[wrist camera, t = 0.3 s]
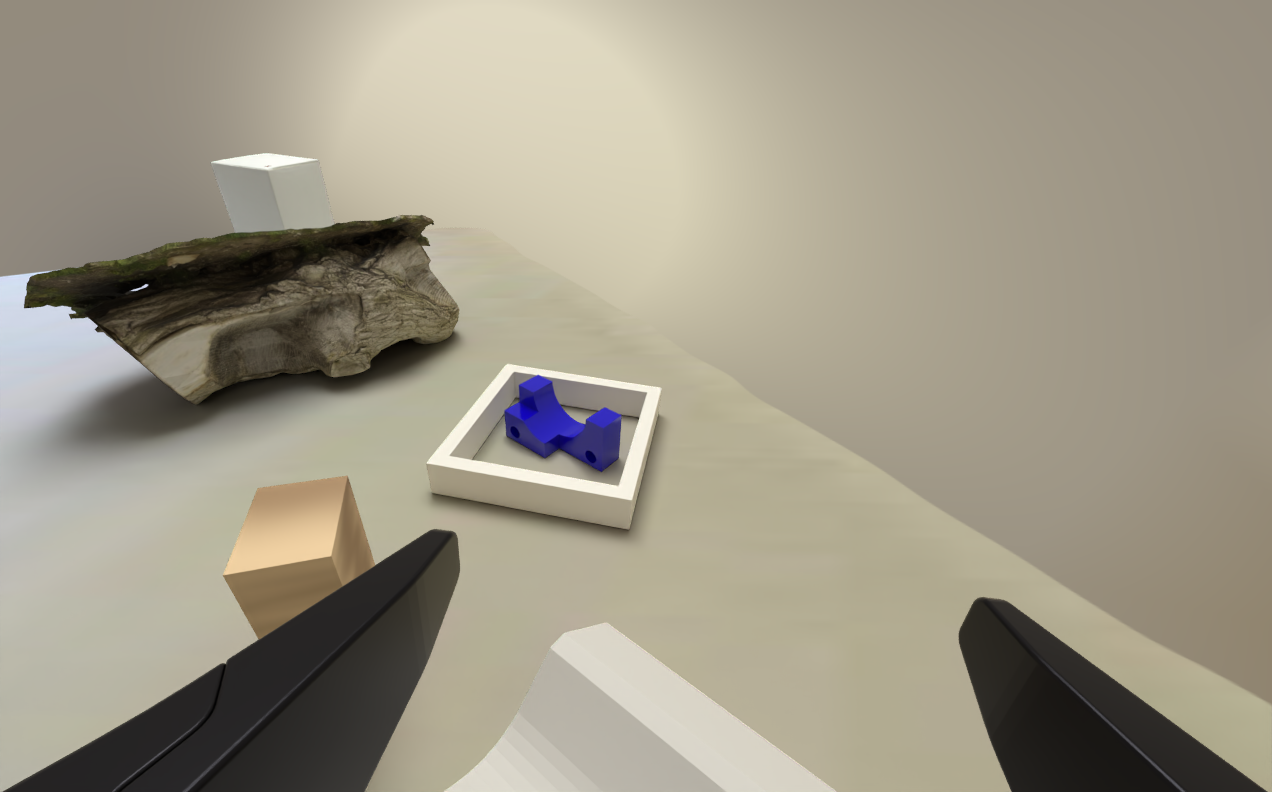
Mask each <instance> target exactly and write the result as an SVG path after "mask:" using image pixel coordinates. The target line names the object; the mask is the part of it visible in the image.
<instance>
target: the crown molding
mask: <svg viewBox="0 0 1272 792" xmlns="http://www.w3.org/2000/svg"><path fill="white" fill-rule="evenodd" d="M443 792H837V791H835V790H834V789H833V788H831V787H830V786H828V785H827V784H826V783H824V782H823V781H822V780H820V779H819V778H818V777H816V776H815V775H813V774H812V773H811V772H809V771H808V770H807V769H805V768H804V767H803V766H801V765H800V764H798V763H797V762H796V761H794V760H793V759H792V758H790V757H789V756H788V755H786V754H785V753H784V752H782V751H781V750H779V749H778V748H777V747H775V746H774V745H773V744H771V743H770V742H769V741H767V740H766V739H764V738H763V737H762V736H760V735H759V734H758V733H756V732H755V731H754V730H752V729H751V728H750V727H748V726H747V725H745V724H744V723H743V722H741V721H740V720H739V719H737V718H736V717H735V716H733V715H732V714H730V713H729V712H728V711H726V710H725V709H724V708H722V707H721V706H720V705H718V704H717V703H715V702H714V701H713V700H711V699H710V698H709V697H707V696H706V695H705V694H703V693H702V692H701V691H699V690H698V689H696V688H695V687H694V686H692V685H691V684H690V683H688V682H687V681H686V680H684V679H683V678H681V677H680V676H679V675H677V674H676V673H675V672H673V671H672V670H671V669H669V668H668V667H666V666H665V665H664V664H662V663H661V662H660V661H658V660H657V659H656V658H654V657H653V656H652V655H650V654H649V653H647V652H646V651H645V650H643V649H642V648H641V647H639V646H638V645H637V644H635V643H634V642H632V641H631V640H630V639H628V638H627V637H626V636H624V635H623V634H622V633H620V632H619V631H618V630H616V629H615V628H613V627H612V626H611V625H609V624H608V623H607V622H606V623H602V624H598V625H594V626H590V627H586V628H581V629H577V630H573V631H569V632H565V633H563V635H562V636H561V637H560V638H559V639H558V640H557V641H556V642H555V643H554V644H553V645H552V646H551V648H550V649H549V651H548V653H547V655H546V657H545V659H544V661H543V663H542V665H541V667H540V669H539V671H538V673H537V675H536V677H535V679H534V681H533V683H532V685H531V687H530V689H529V691H528V693H527V694H526V696H525V698H524V700H523V702H522V704H521V706H520V708H519V710H518V712H517V714H516V716H515V717H514V719H513V721H512V722H511V724H510V725H509V727H508V728H507V730H506V731H505V733H504V734H503V736H502V737H501V738H500V740H499V741H498V742H497V744H496V745H495V746H494V747H493V749H492V750H491V751H490V752H489V753H488V754H487V755H486V756H485V758H484V759H483V760H482V761H481V762H480V763H479V764H478V765H477V766H475V767H474V768H473V769H472V770H471V771H470V772H469V773H468V774H466V775H465V776H464V777H463V778H462V779H460V780H459V781H458V782H456V783H455V784H454V785H452V786H451V787H449V788H448V789H446V790H445V791H443Z"/></svg>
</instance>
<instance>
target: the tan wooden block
mask: <svg viewBox="0 0 1272 792" xmlns="http://www.w3.org/2000/svg"><path fill="white" fill-rule="evenodd" d="M373 566H375V563H374V560H373V557H372V553H371V550H370V547H369V544H368V540H367V537H366V534H365V531H364V527H363V524H362V521H361V518H360V514H359V511H358V508H357V505H356V501H355V498H354V495H353V492H352V488H351V485H350V482H349V479H348V476H342V477H335V478H328V479H321V480H313V481H306V482H299V483H292V484H285V485H277V486H270V487H263V488H258V489H257V491H256V494H255V496H254V499H253V501H252V504H251V506H250V509H249V511H248V514H247V516H246V519H245V521H244V524H243V526H242V529H241V531H240V534H239V536H238V539H237V541H236V544H235V546H234V549H233V551H232V554H231V556H230V559H229V561H228V564H227V566H226V569H225V571H224V574H223V576H224V578H225V580H226V582H227V584H228V585H229V587H230V589H231V591H232V593H233V594H234V596H235V598H236V600H237V601H238V603H239V605H240V607H241V609H242V610H243V612H244V614H245V616H246V617H247V619H248V621H249V623H250V625H251V626H252V628H253V630H254V632H255V633H256V635H257V637H258V639H261V638H262V637H264V636H265V635H267V634H268V633H270V632H272V631H273V630H275V629H276V628H278V627H279V626H281V625H283V624H284V623H286V622H287V621H289V620H290V619H292V618H294V617H295V616H297V615H298V614H300V613H301V612H303V611H304V610H306V609H308V608H309V607H311V606H312V605H314V604H315V603H317V602H319V601H320V600H322V599H323V598H325V597H326V596H328V595H330V594H331V593H333V592H334V591H336V590H337V589H339V588H340V587H342V586H344V585H345V584H347V583H348V582H350V581H351V580H353V579H355V578H356V577H358V576H359V575H361V574H362V573H364V572H366V571H367V570H369V569H370V568H372V567H373Z"/></svg>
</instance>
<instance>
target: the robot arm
mask: <svg viewBox="0 0 1272 792" xmlns="http://www.w3.org/2000/svg"><path fill="white" fill-rule="evenodd" d="M459 573H460V560H459V548H458V538H457V535H456V533H455V532H453V531H447V530H439V529H433V530H430V531H428V532H427V533H425V534H423V535H422V536H420V537H419V538H417V539H416V540H414V541H413V542H411V543H409V544H408V545H406V546H405V547H403V548H402V549H400V550H398V551H397V552H395V553H394V554H392V555H391V556H389V557H387V558H386V559H384V560H383V561H381V562H380V563H378V564H377V565H375V566H373V567H372V568H370V569H369V570H367V571H366V572H364V573H362V574H361V575H359V576H358V577H356V578H355V579H353V580H351V581H350V582H348V583H347V584H345V585H344V586H342V587H340V588H339V589H337V590H336V591H334V592H333V593H331V594H330V595H328V596H326V597H325V598H323V599H322V600H320V601H319V602H317V603H315V604H314V605H312V606H311V607H309V608H308V609H306V610H304V611H303V612H301V613H300V614H298V615H297V616H295V617H294V618H292V619H290V620H289V621H287V622H286V623H284V624H283V625H281V626H279V627H278V628H276V629H275V630H273V631H272V632H270V633H268V634H267V635H265V636H264V637H262V638H261V639H259V640H257V641H256V642H254V643H253V644H251V645H250V646H248V647H247V648H245V649H243V650H242V651H240V652H239V653H237V654H236V655H234V656H232V657H231V658H229V659H228V660H227V662H226V664H224V663H222V664H220V665H218V666H216V667H215V668H213V669H212V670H210V671H209V672H207V673H205V674H204V675H202V676H201V677H199V678H198V679H196V680H195V681H193V682H191V683H190V684H188V685H186V686H185V687H183V688H182V689H180V690H178V691H177V692H175V693H173V694H172V695H170V696H169V697H167V698H165V699H164V700H162V701H160V702H159V703H157V704H156V705H154V706H152V707H151V708H149V709H148V710H146V711H144V712H142V713H141V714H139V715H137V716H135V717H134V718H132V719H130V720H129V721H127V722H125V723H123V724H122V725H120V726H118V727H116V728H115V729H113V730H111V731H109V732H108V733H106V734H104V735H103V736H101V737H99V738H97V739H96V740H94V741H92V742H90V743H89V744H87V745H85V746H83V747H81V748H80V749H78V750H76V751H74V752H73V753H71V754H69V755H67V756H65V757H64V758H62V759H60V760H58V761H56V762H55V763H53V764H51V765H49V766H48V767H46V768H44V769H42V770H40V771H39V772H37V773H35V774H33V775H31V776H30V777H28V778H26V779H24V780H23V781H21V782H19V783H17V784H15V785H14V786H12V787H10V788H8V789H6V790H5V791H3V792H364V791H365V789H366V787H367V785H368V783H369V781H370V779H371V777H372V775H373V773H374V771H375V769H376V767H377V765H378V763H379V761H380V759H381V757H382V755H383V753H384V751H385V749H386V747H387V745H388V743H389V741H390V738H391V736H392V734H393V732H394V730H395V728H396V726H397V724H398V722H399V720H400V718H401V716H402V714H403V712H404V710H405V708H406V706H407V704H408V702H409V700H410V698H411V696H412V694H413V692H414V690H415V688H416V685H417V683H418V681H419V679H420V677H421V675H422V673H423V671H424V669H425V666H426V664H427V662H428V659H429V657H430V654H431V652H432V649H433V646H434V644H435V641H436V638H437V636H438V633H439V630H440V627H441V625H442V622H443V619H444V616H445V614H446V611H447V608H448V606H449V603H450V600H451V597H452V595H453V592H454V589H455V586H456V584H457V581H458V577H459ZM959 644H960V648H961V651H962V654H963V658H964V661H965V664H966V667H967V670H968V673H969V677H970V680H971V683H972V686H973V689H974V692H975V695H976V699H977V702H978V705H979V708H980V711H981V714H982V718H983V721H984V724H985V727H986V729H987V732H988V735H989V738H990V741H991V743H992V746H993V748H994V751H995V753H996V756H997V758H998V761H999V763H1000V765H1001V768H1002V770H1003V773H1004V775H1005V777H1006V780H1007V782H1008V784H1009V787H1010V789H1011V791H1012V792H1267V791H1266V790H1264V789H1263V788H1262V787H1260V786H1259V785H1257V784H1256V783H1255V782H1253V781H1252V780H1251V779H1249V778H1248V777H1247V776H1245V775H1244V774H1242V773H1241V772H1240V771H1238V770H1237V769H1236V768H1234V767H1233V766H1232V765H1230V764H1229V763H1227V762H1226V761H1225V760H1223V759H1222V758H1221V757H1219V756H1218V755H1216V754H1215V753H1214V752H1212V751H1211V750H1210V749H1208V748H1207V747H1206V746H1204V745H1203V744H1201V743H1200V742H1199V741H1197V740H1196V739H1195V738H1193V737H1192V736H1191V735H1189V734H1188V733H1186V732H1185V731H1184V730H1182V729H1181V728H1180V727H1178V726H1177V725H1175V724H1174V723H1173V722H1171V721H1170V720H1169V719H1167V718H1166V717H1165V716H1163V715H1162V714H1160V713H1159V712H1158V711H1156V710H1155V709H1154V708H1152V707H1151V706H1150V705H1148V704H1147V703H1145V702H1144V701H1143V700H1141V699H1140V698H1139V697H1137V696H1136V695H1134V694H1133V693H1132V692H1130V691H1129V690H1128V689H1126V688H1125V687H1124V686H1122V685H1121V684H1119V683H1118V682H1117V681H1115V680H1114V679H1113V678H1111V677H1110V676H1109V675H1107V674H1106V673H1104V672H1103V671H1102V670H1100V669H1099V668H1098V667H1096V666H1095V665H1093V664H1092V663H1091V662H1089V661H1088V660H1087V659H1085V658H1084V657H1083V656H1081V655H1080V654H1078V653H1077V652H1076V651H1074V650H1073V649H1072V648H1070V647H1069V646H1068V645H1066V644H1065V643H1063V642H1062V641H1061V640H1059V639H1058V638H1057V637H1055V636H1054V635H1052V634H1051V633H1050V632H1048V631H1047V630H1046V629H1044V628H1043V627H1042V626H1040V625H1039V624H1037V623H1036V622H1035V621H1033V620H1032V619H1031V618H1029V617H1028V616H1027V615H1025V614H1024V613H1022V612H1021V611H1020V610H1018V609H1017V608H1016V607H1014V606H1013V605H1012V604H1010V603H1009V602H1007V601H1005V600H1001V599H994V598H986V597H980V598H977V599H976V600H975V601H974V602H973V604H972V606H971V608H970V610H969V612H968V614H967V616H966V618H965V620H964V622H963V624H962V626H961V628H960V631H959Z"/></svg>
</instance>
